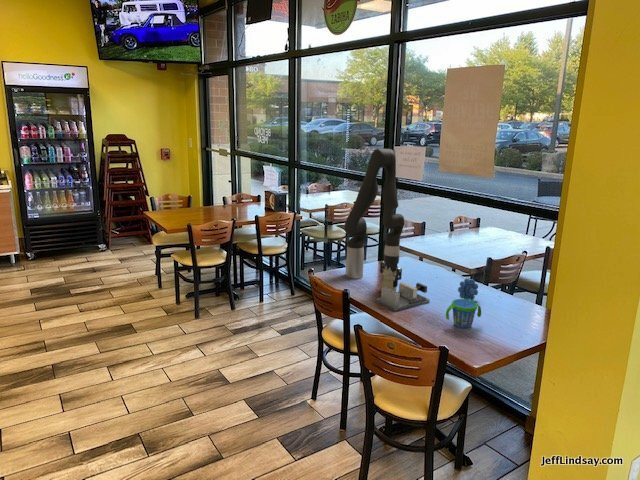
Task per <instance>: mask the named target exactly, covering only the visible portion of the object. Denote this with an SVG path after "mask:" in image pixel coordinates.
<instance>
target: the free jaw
mask: <svg viewBox="0 0 640 480" xmlns="http://www.w3.org/2000/svg"><path fill="white" fill-rule="evenodd" d="M418 291H420V292H422V293H423V294H424V293H426V294H427V292H428V286H427V285H424V284H422V283H421V282H417V283H416V284H415V286H413V285H410V284H408V283H406V282H404V281H402V282H398V292H399V293H400V295H401V296H403V297H405V298H407V299H409V300H411V301H412V300H416V299H417V294H418Z"/></svg>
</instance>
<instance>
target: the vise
mask: <svg viewBox="0 0 640 480" xmlns="http://www.w3.org/2000/svg"><path fill="white" fill-rule="evenodd" d="M430 301H431V300H430V299H429V298H427V297H425V296H423V295H421V294H419V293H417V299H416V300H412V301H411V300H409V299H407V298H405V297H403V296H401V295H400V293H399V291H397V290H396V291H394V290H392V289H390V288H387V287H383V286H382V287H381V296H380V297H377V298H375V302H376V303H377V302H379V303H380V304H379V303H378V304H379V305H381V304H382V305H381V306H383V305H384V306H383V307H385V306H386V307H385V308H387V307H388V308H387V309H389V310H390V309H391V311H392V310H393V312H394V311H395V312H397V311H398V310H399V311H402V309H403V310H406V308H407V309H410V308H414V307H417V306H421V305H425V304H428V303H430ZM399 311H398V312H399Z"/></svg>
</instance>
